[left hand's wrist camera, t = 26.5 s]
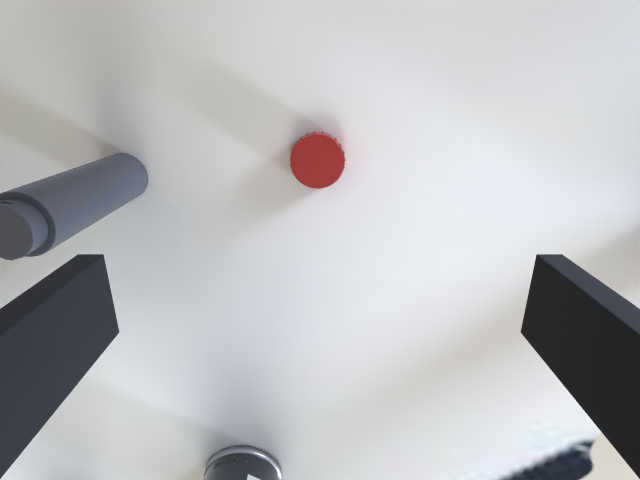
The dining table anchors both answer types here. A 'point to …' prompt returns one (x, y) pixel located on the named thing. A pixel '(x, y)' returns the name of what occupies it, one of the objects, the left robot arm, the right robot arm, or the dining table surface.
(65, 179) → the jar
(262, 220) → the dining table surface
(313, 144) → the lid
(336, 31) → the dining table surface
